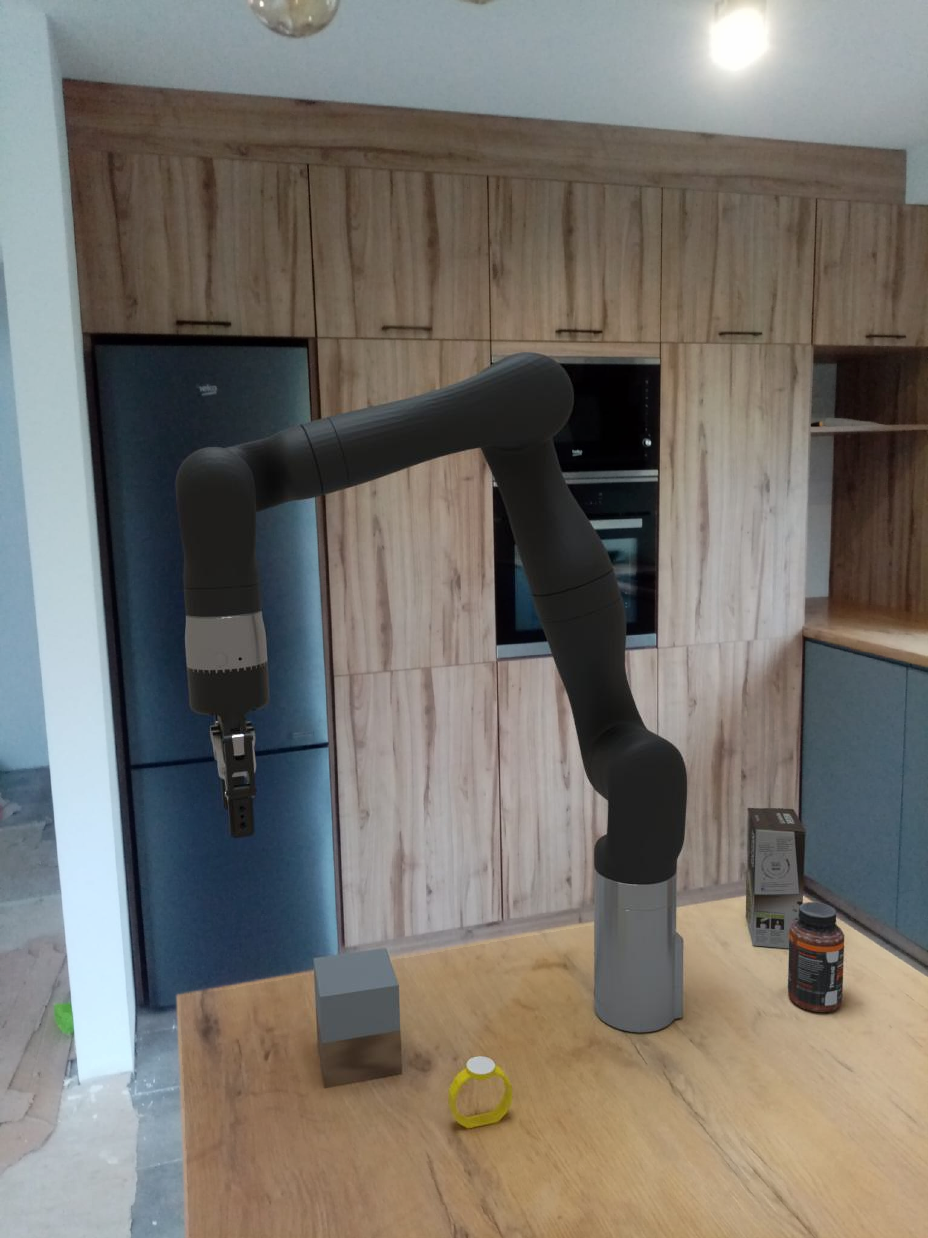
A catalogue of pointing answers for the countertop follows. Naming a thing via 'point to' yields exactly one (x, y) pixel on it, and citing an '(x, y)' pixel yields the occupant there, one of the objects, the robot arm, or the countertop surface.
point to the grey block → (356, 995)
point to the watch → (480, 1071)
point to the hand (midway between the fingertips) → (238, 821)
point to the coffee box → (773, 874)
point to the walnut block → (359, 1058)
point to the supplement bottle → (816, 959)
